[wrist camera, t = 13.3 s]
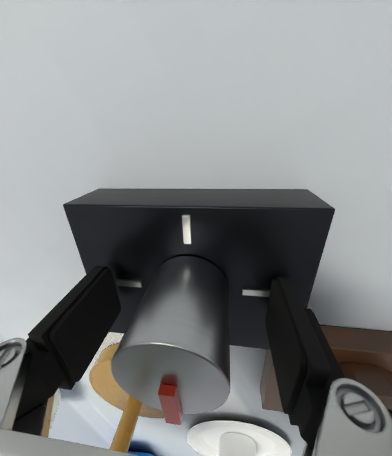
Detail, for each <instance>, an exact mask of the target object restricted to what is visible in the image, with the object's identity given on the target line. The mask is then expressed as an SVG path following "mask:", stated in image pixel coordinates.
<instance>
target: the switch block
mask: <svg viewBox="0 0 392 456" xmlns="http://www.w3.org/2000/svg"><path fill="white" fill-rule="evenodd" d="M320 327H321V329H322V331H323V333H324V335H325V337H326V339H327V341H328V343H329V345H330V347H331V349H332V351H333V353H334V356H335V358H336V360H337V362H338V364H339V366H340V368H341V370H342V372H343V374H344V376H345V378H347V379H351V380H354V381H356V382H358V383H361V384H362V385H364V386H365V387H367V388H368V389H369V390H371V391H372V392H373V393H374V394H375V395H376V396H377V397H378V398H379V399H380V400H381V402H382V403H383V404H384V406H385V407H386V408H387V409H388V410H389V411H390V412H391V414H392V332H388V331H377V330H366V329H355V328H343V327H332V326H321V325H320ZM260 393H261V401H262V408H263V409H267V410H274V411H281V412H283V409H282V404H281V400H280V395H279V390H278V385H277V380H276V375H275V370H274V365H273V360H272V355H271V351H270V349H267V353H266V358H265V363H264V368H263V373H262V378H261V384H260Z"/></svg>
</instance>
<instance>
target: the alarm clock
mask: <svg viewBox="0 0 392 456" xmlns="http://www.w3.org/2000/svg"><path fill="white" fill-rule="evenodd" d="M127 453H129V454H134V455H139V456H154V455H153V454H151V453H141V452H129V451H128V452H127Z"/></svg>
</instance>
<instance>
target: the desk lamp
mask: <svg viewBox="0 0 392 456" xmlns="http://www.w3.org/2000/svg"><path fill="white" fill-rule="evenodd" d="M119 344H120V343H118V344H114V345H111V346H109V347H107V348H105V349H104V350H103V351H102V352H101V354H100V355H99V357H98V359H97V360H96V362H95V364H94V366H93V367H92V369H91V371H90V375H89V379H90V383H91V385H92V387H93V389H94V390H95V391H96V393H97V394H98V395H99V396H100V397H102V398H103V399H104V400H105V401H107V402H108V403H110V404H111V405H113V406H115V407H117V408H119V409H121V410H123V411H124V412H123V414H122V417H121V420H120V422H119V425H118V428H117V431H116V433H115V436H114V439H113V441H112V444H111V447H110V450H114V451H119V452H124V453H127V452H128V449H129V445H130V442H131V439H132V436H133V432H134V429H135V426H136V423H137V419H138V416H143V417H149V418H165V417H164V413H163V410H159V409H156V408H153V407H151V406H148V405H146V404H144V403H142V402H140V401H138V400H136V399H135V398H133V397H131V396H130V395H129V394H127V393H126V392H125V391H124V390H123V389H122V388H121V387H120V386H119V385H118V384H117V383H116V381H115V380H114V378H113V376H112V373H111V360H112V358H113V355H114V353H115V351H116V349H117V348H118V346H119Z"/></svg>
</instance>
